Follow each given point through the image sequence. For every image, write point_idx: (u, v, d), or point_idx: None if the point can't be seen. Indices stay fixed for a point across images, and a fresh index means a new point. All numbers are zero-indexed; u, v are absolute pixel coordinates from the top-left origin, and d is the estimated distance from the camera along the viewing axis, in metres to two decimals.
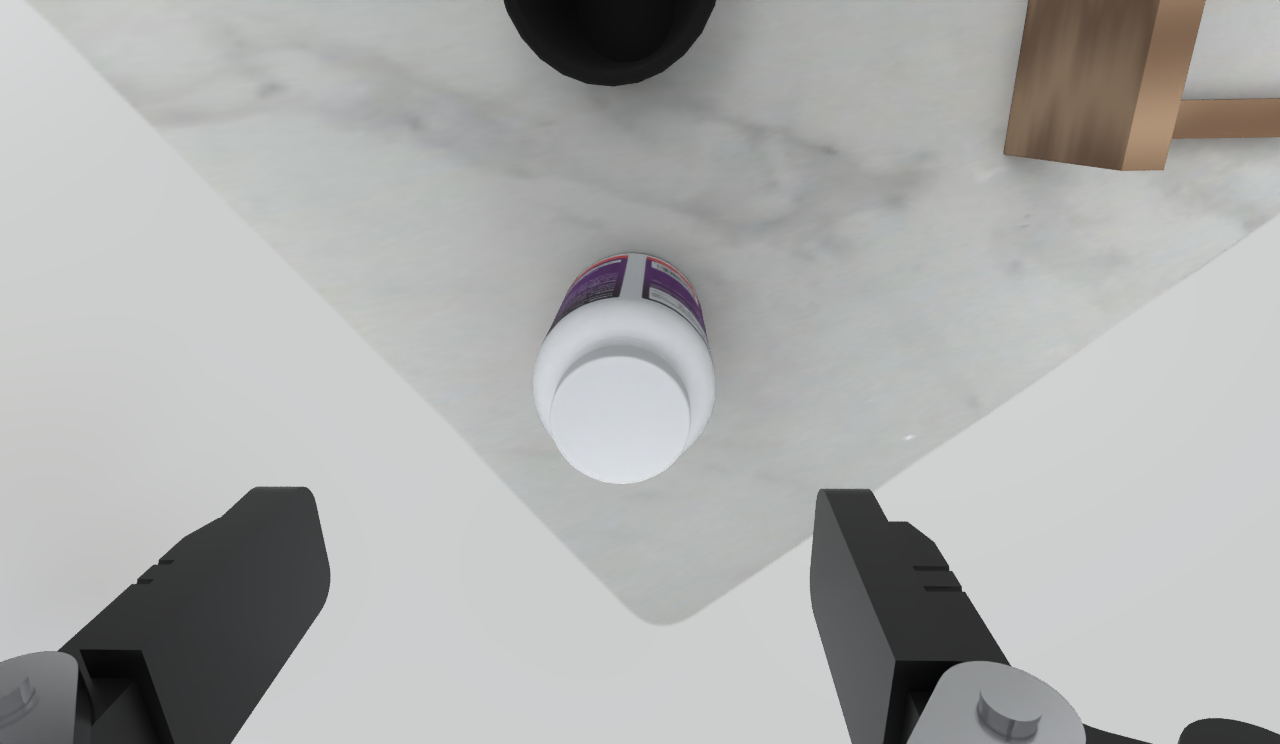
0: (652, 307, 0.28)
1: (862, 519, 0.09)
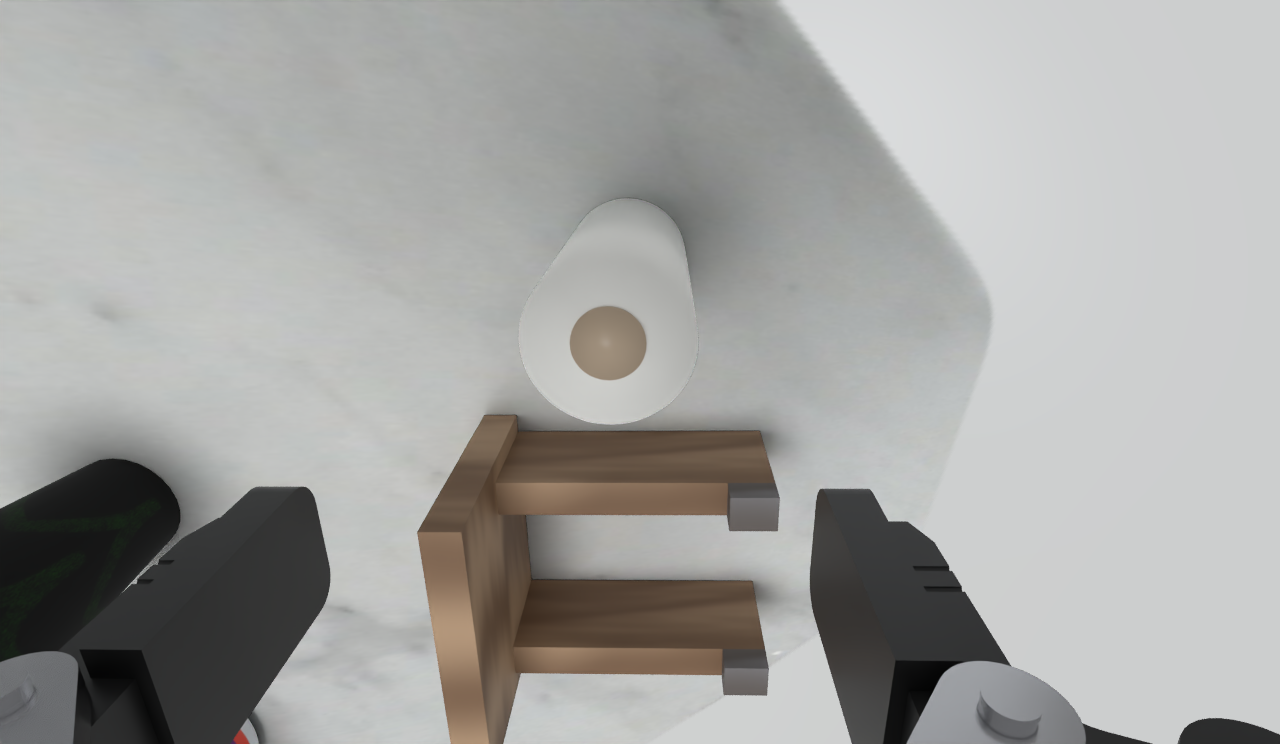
0: None
1: (862, 519, 0.09)
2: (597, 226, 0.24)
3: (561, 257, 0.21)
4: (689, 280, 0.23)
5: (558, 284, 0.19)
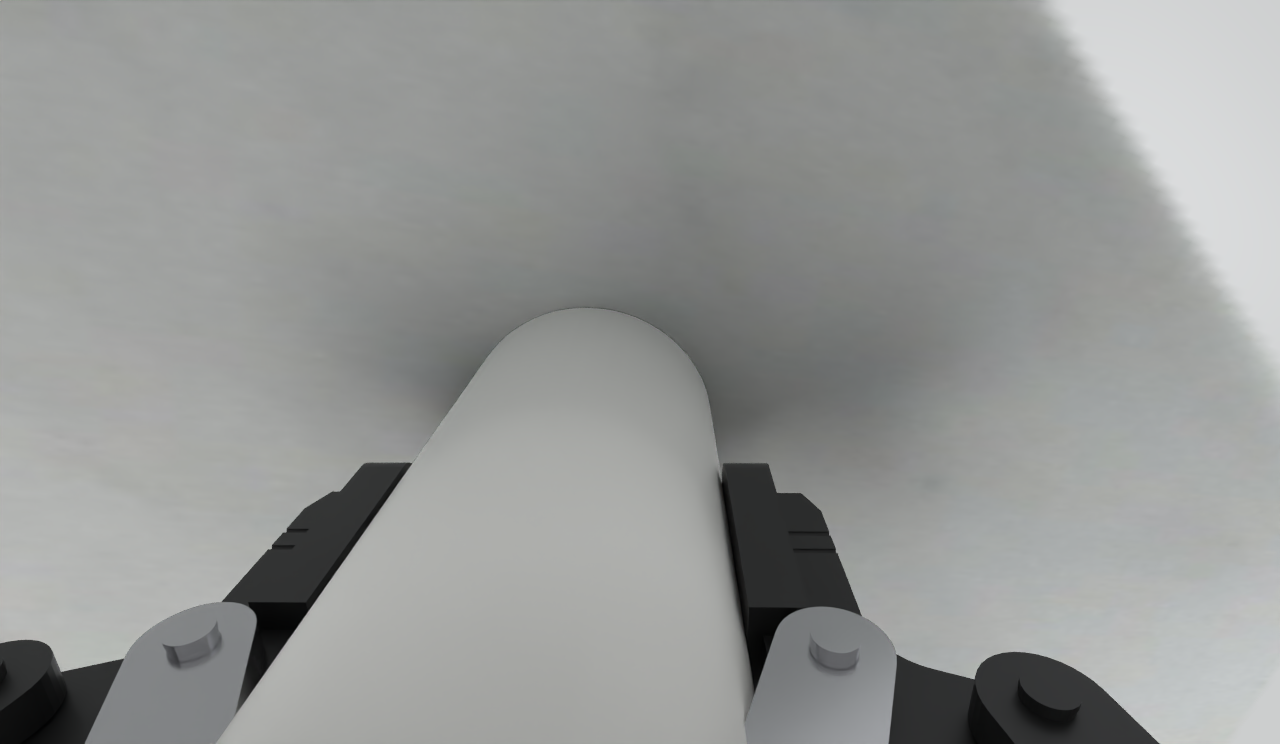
0: None
1: (753, 489, 0.10)
2: (455, 491, 0.07)
3: None
4: (748, 668, 0.07)
5: None
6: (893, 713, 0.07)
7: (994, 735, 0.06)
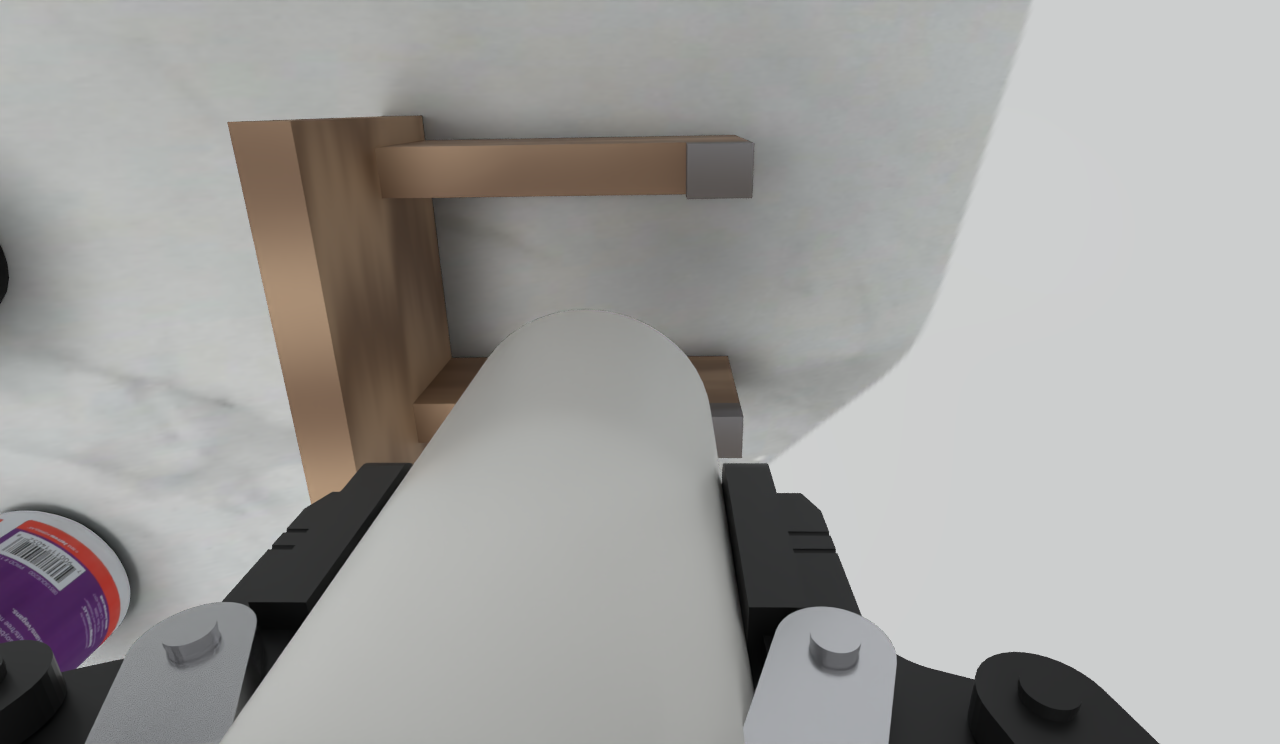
0: None
1: (752, 489, 0.10)
2: (455, 494, 0.07)
3: None
4: (748, 671, 0.07)
5: None
6: (893, 713, 0.07)
7: (994, 735, 0.06)
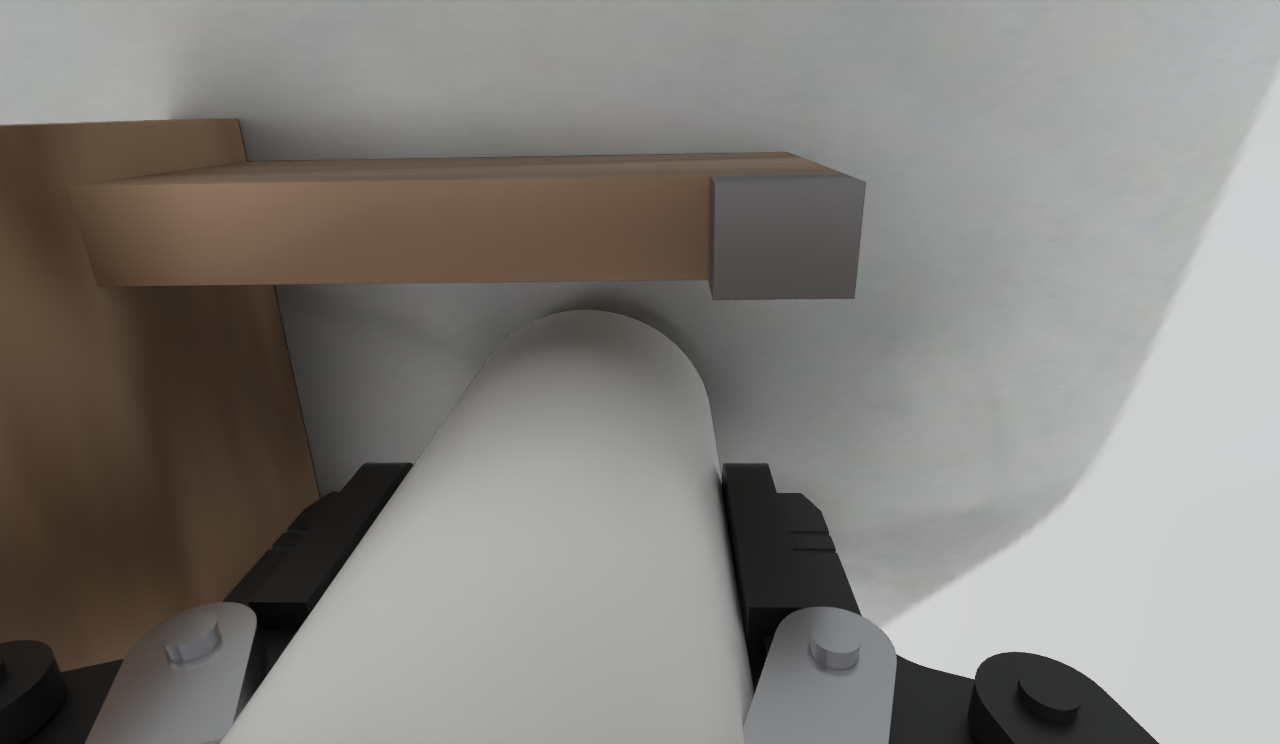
0: None
1: (753, 489, 0.10)
2: (456, 495, 0.07)
3: None
4: (748, 672, 0.07)
5: None
6: (893, 713, 0.07)
7: (993, 735, 0.06)
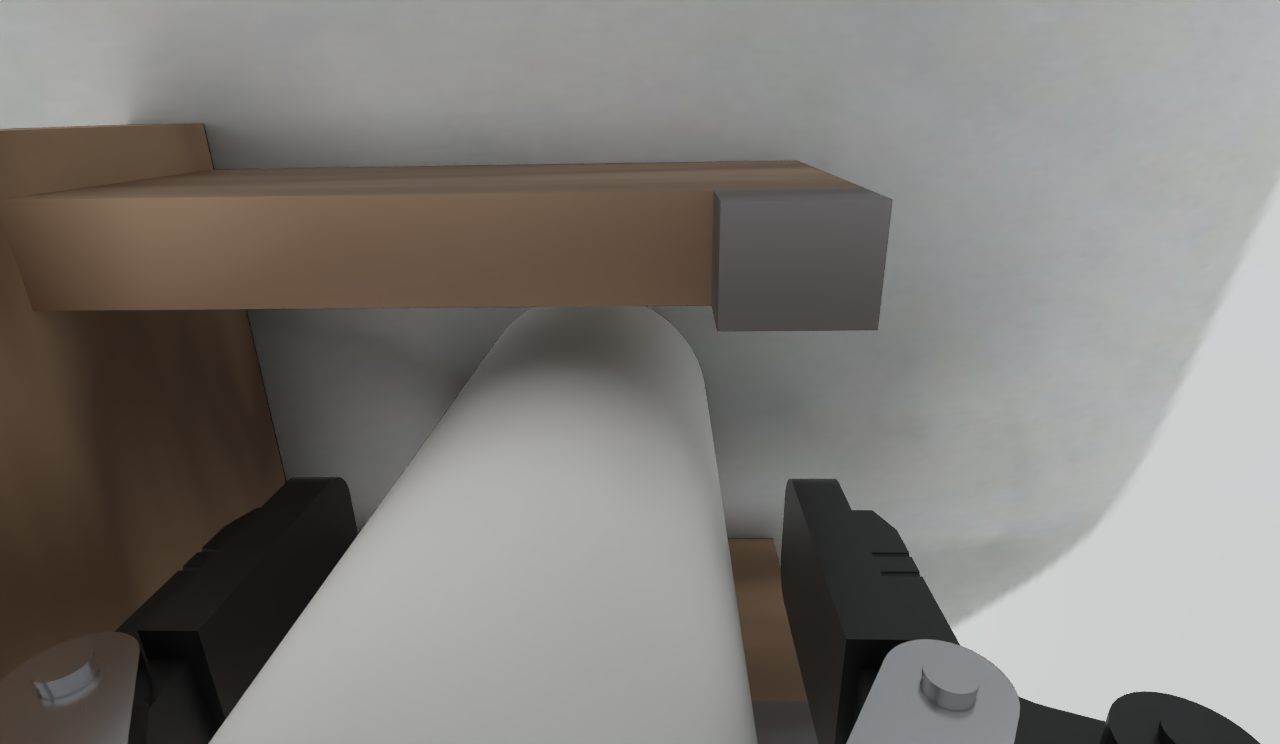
0: None
1: (826, 507, 0.10)
2: (478, 441, 0.09)
3: (284, 665, 0.06)
4: (733, 595, 0.08)
5: None
6: None
7: None
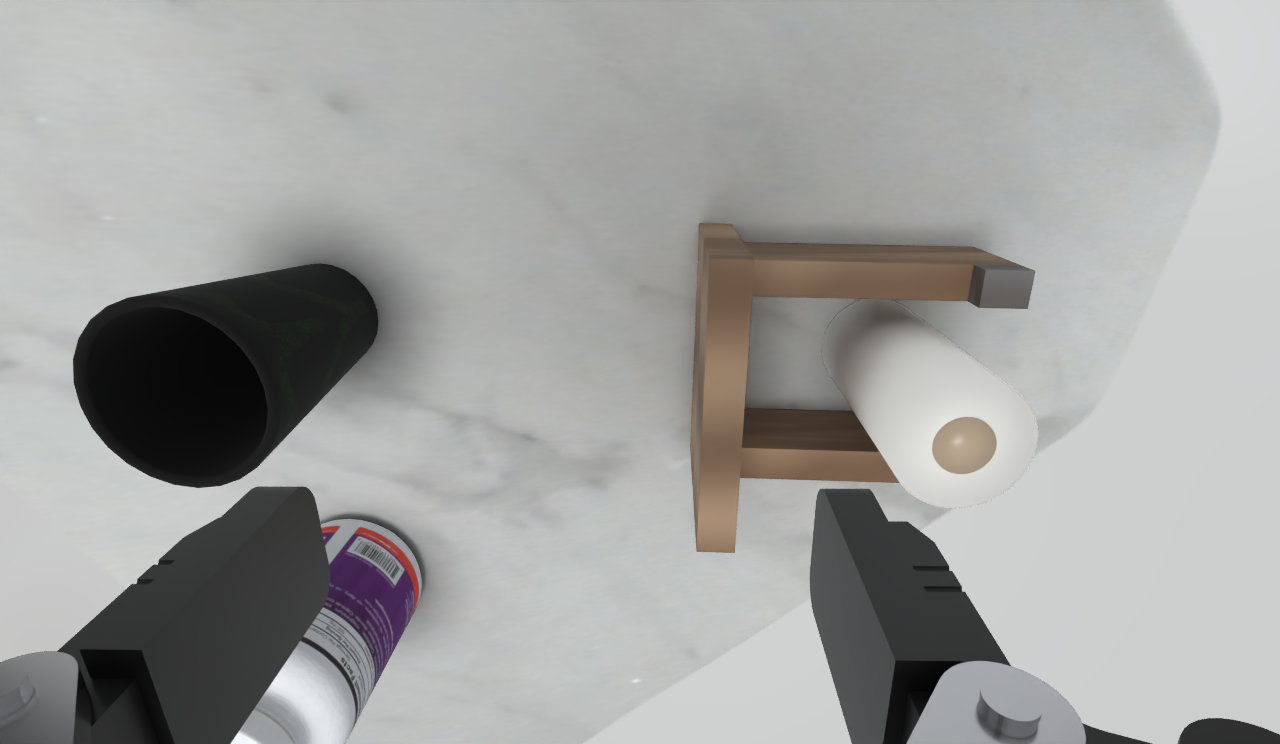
0: None
1: (862, 519, 0.09)
2: (909, 337, 0.29)
3: (914, 372, 0.26)
4: None
5: (933, 399, 0.24)
6: None
7: None
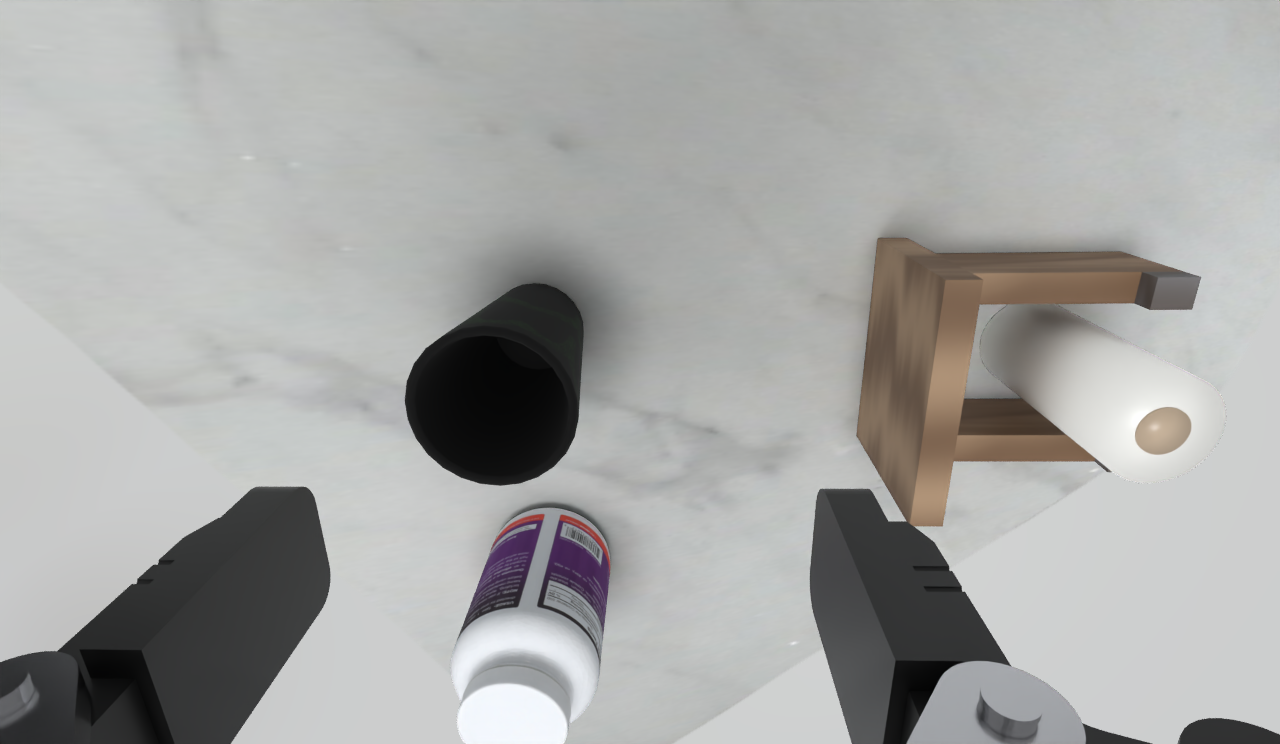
0: (542, 620, 0.35)
1: (862, 519, 0.09)
2: (1090, 338, 0.33)
3: (1113, 369, 0.30)
4: None
5: (1139, 393, 0.29)
6: None
7: None
